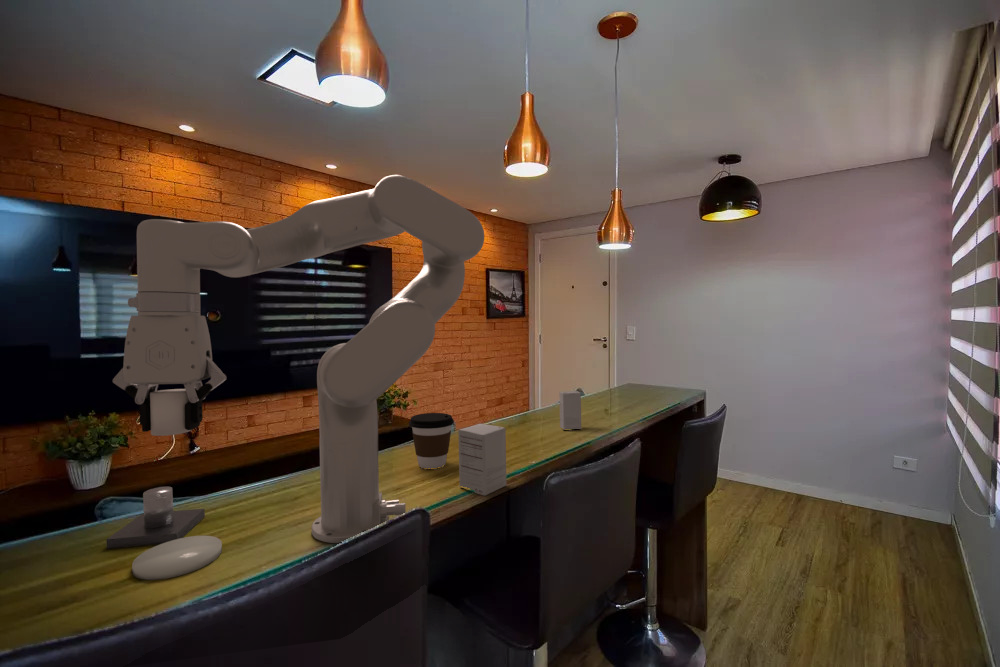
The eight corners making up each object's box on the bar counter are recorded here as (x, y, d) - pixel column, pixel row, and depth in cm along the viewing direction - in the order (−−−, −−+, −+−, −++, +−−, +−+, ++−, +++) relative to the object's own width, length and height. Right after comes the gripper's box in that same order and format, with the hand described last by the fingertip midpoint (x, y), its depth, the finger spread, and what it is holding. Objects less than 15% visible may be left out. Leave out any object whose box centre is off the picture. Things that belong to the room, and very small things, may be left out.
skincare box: (577, 427, 151) (577, 390, 151) (582, 430, 147) (581, 392, 147) (559, 428, 150) (558, 391, 150) (563, 431, 146) (563, 393, 146)
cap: (182, 434, 67) (182, 393, 67) (143, 436, 66) (142, 394, 66) (200, 425, 73) (199, 387, 72) (164, 427, 72) (163, 388, 71)
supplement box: (481, 478, 103) (480, 422, 103) (507, 486, 99) (506, 427, 98) (458, 488, 98) (457, 428, 97) (484, 496, 93) (483, 434, 92)
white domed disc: (233, 538, 76) (232, 532, 76) (203, 574, 65) (202, 567, 65) (158, 545, 74) (157, 539, 74) (114, 583, 63) (114, 576, 63)
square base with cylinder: (204, 516, 85) (203, 478, 84) (177, 542, 75) (175, 499, 75) (143, 521, 83) (141, 482, 83) (106, 548, 73) (105, 504, 73)
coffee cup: (456, 458, 119) (455, 412, 118) (453, 472, 108) (452, 421, 107) (413, 459, 118) (412, 412, 118) (405, 473, 107) (404, 422, 107)
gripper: (86, 304, 63) (88, 437, 64) (222, 305, 66) (224, 432, 67) (120, 306, 70) (122, 425, 71) (241, 307, 74) (243, 421, 74)
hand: (171, 427), depth 69 cm, fingers closed on cap, 4 cm apart
